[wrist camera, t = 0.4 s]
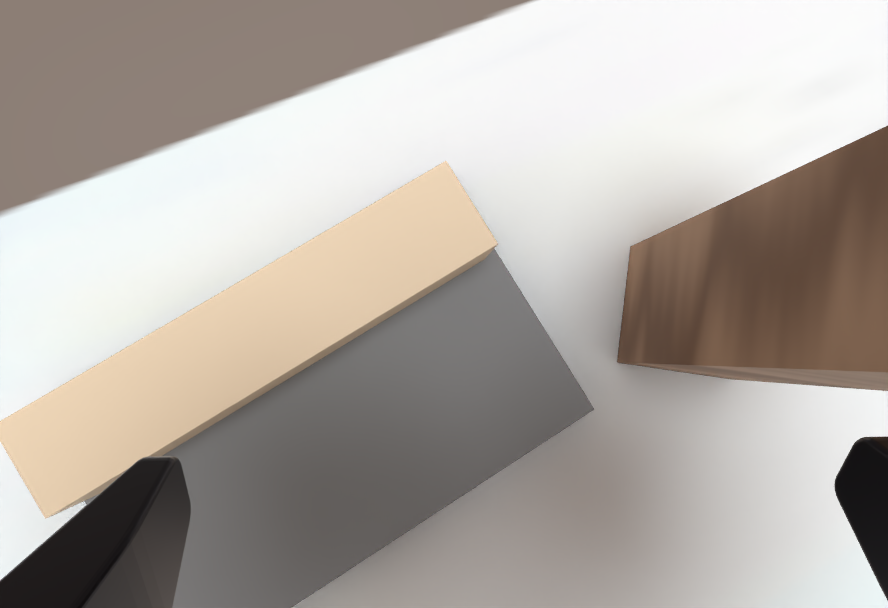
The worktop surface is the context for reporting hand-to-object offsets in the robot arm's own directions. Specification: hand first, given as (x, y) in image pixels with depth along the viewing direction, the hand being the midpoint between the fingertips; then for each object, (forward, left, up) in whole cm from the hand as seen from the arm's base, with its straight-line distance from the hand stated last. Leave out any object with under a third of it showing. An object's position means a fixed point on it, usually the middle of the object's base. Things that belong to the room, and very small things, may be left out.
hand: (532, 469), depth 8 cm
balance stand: (+2, +4, -14) cm, 15 cm away
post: (-2, -9, -14) cm, 17 cm away
